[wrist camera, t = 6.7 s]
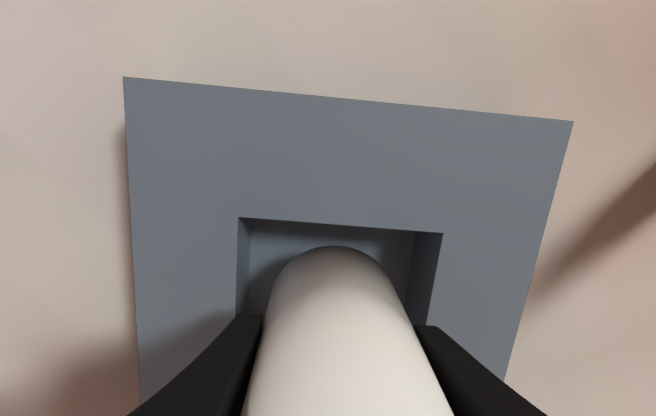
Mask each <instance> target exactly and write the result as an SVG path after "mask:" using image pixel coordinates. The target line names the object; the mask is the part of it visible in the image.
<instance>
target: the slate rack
mask: <svg viewBox="0 0 656 416" xmlns="http://www.w3.org/2000/svg"><path fill="white" fill-rule="evenodd" d="M123 90H124V108H125V126H126V144H127V163H128V181H129V199H130V217H131V235H132V253H133V272H134V290H135V308H136V326H137V344H138V362H139V380H140V399H141V405H142V404H143V403H144V402H146V401H147V400H148V399H149V398H151V397H152V396H153V395H154V394H156V393H157V392H158V391H159V390H160V389H162V388H163V387H164V386H165V385H166V384H167V383H169V382H170V381H171V380H172V379H173V378H174V377H175V376H177V375H178V374H179V373H180V372H181V371H182V370H183V369H184V368H186V367H187V366H188V365H189V364H190V363H191V362H192V361H193V360H194V359H195V358H196V357H197V356H198V355H199V354H200V353H201V352H202V351H203V350H204V349H205V348H206V347H207V346H208V345H209V344H210V343H211V342H212V341H213V340H214V339H215V338H216V337H217V336H218V335H219V334H220V333H221V332H222V331H223V330H224V329H225V328H226V326H227V325H228V324H229V323H230V322H231V321H232V320H233V319H234V317H235V316H237V315H238V314H239V313H247V314H263V323H262V328H263V324H264V320H265V316H266V312H267V308H268V304H269V300H270V296H271V292H272V288H273V285H274V283H275V280H276V278H277V277H278V275H279V273H280V272H281V271H282V269H283V268H284V267H285V266H286V265H287V264H288V263H289V262H290V261H291V260H293V259H294V258H295V257H297V256H298V255H300V254H302V253H304V252H306V251H308V250H311V249H314V248H317V247H322V246H335V245H337V246H346V247H350V248H354V249H357V250H359V251H362V252H364V253H365V254H367V255H369V256H370V257H372V258H373V259H375V260H376V261H377V262H378V263H379V264H380V265H381V266H382V267H383V269H384V270H385V271H386V273H387V275H388V276H389V278H390V280H391V282H392V284H393V287H394V289H395V291H396V293H397V295H398V297H399V299H400V301H401V304H402V306H403V308H404V310H405V312H406V314H407V316H408V319H409V321H410V323H411V325H412V327H413V328H414V324H416V325H431V326H437V327H439V328H440V329H441V330H442V331H444V332H445V333H446V334H447V335H449V336H450V337H451V338H452V339H453V340H454V341H456V342H457V343H458V344H459V345H460V346H461V347H462V348H464V349H465V350H466V351H467V352H468V353H469V354H471V355H472V356H473V357H474V358H475V359H476V360H478V361H479V362H480V363H481V364H482V365H483V366H485V367H486V368H487V369H488V370H489V371H491V372H492V373H493V374H494V375H495V376H497V377H498V378H499V379H500V380H501V381H504V378H505V374H506V370H507V367H508V363H509V359H510V355H511V352H512V348H513V344H514V341H515V337H516V333H517V330H518V326H519V322H520V318H521V315H522V311H523V307H524V304H525V300H526V296H527V292H528V289H529V285H530V281H531V278H532V274H533V270H534V267H535V263H536V259H537V255H538V252H539V248H540V244H541V241H542V237H543V233H544V230H545V226H546V222H547V218H548V215H549V211H550V207H551V204H552V200H553V196H554V193H555V189H556V185H557V181H558V178H559V174H560V170H561V167H562V163H563V159H564V155H565V152H566V148H567V144H568V141H569V137H570V133H571V130H572V126H573V122H574V121H566V120H556V119H546V118H536V117H526V116H515V115H505V114H495V113H485V112H475V111H465V110H455V109H445V108H435V107H425V106H415V105H404V104H394V103H384V102H374V101H364V100H354V99H344V98H334V97H324V96H314V95H304V94H293V93H283V92H273V91H263V90H253V89H243V88H233V87H223V86H213V85H203V84H193V83H182V82H172V81H162V80H152V79H142V78H132V77H123Z"/></svg>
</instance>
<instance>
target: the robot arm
mask: <svg viewBox="0 0 656 416" xmlns="http://www.w3.org/2000/svg"><path fill="white" fill-rule="evenodd" d="M262 323H263V314H247V313H239V314H238V315H237V316H235V317H234V319H233V320H232V321H231V322H230V323H229V324H228V325H227V326H226V328H225V329H224V330H223V331H222V332H221V333H220V334H219V335H218V336H217V337H216V338H215V339H214V340H213V341H212V342H211V343H210V344H209V345H208V346H207V347H206V348H205V349H204V350H203V351H202V352H201V353H200V354H199V355H198V356H197V357H196V358H195V359H194V360H193V361H192V362H191V363H190V364H189V365H188V366H187V367H186V368H184V369H183V370H182V371H181V372H180V373H179V374H178V375H177V376H175V377H174V378H173V379H172V380H171V381H170V382H169V383H167V384H166V385H165V386H164V387H163V388H162V389H160V390H159V391H158V392H157V393H156V394H154V395H153V396H152V397H151V398H149V399H148V400H147V401H146V402H144V403H143V404H142V405H140V406H139V407H138V408H136V409H135V410H134V411H132V412H131V413H130V414H128V415H127V416H241V412H242V408H243V404H244V400H245V396H246V392H247V388H248V384H249V380H250V376H251V372H252V368H253V364H254V360H255V356H256V352H257V348H258V344H259V340H260V336H261V332H262ZM413 329H414V331H415V333H416V336H417V338H418V340H419V342H420V344H421V346H422V348H423V351H424V353H425V355H426V357H427V359H428V361H429V363H430V366H431V368H432V370H433V372H434V374H435V376H436V378H437V380H438V383H439V385H440V387H441V389H442V391H443V393H444V395H445V398H446V400H447V402H448V404H449V406H450V408H451V410H452V412H453V415H454V416H547V415H546V414H544V413H543V412H542V411H540V410H539V409H538V408H536V407H535V406H534V405H532V404H531V403H530V402H528V401H527V400H526V399H524V398H523V397H522V396H520V395H519V394H518V393H517V392H515V391H514V390H513V389H511V388H510V387H509V386H508V385H506V384H505V383H504V382H503V381H501V380H500V379H499V378H498V377H497V376H495V375H494V374H493V373H492V372H491V371H489V370H488V369H487V368H486V367H485V366H483V365H482V364H481V363H480V362H479V361H478V360H476V359H475V358H474V357H473V356H472V355H471V354H469V353H468V352H467V351H466V350H465V349H464V348H462V347H461V346H460V345H459V344H458V343H457V342H456V341H454V340H453V339H452V338H451V337H450V336H449V335H447V334H446V333H445V332H444V331H442V330H441V329H440V328H439V327H437V326H431V325H416V324H414V328H413Z"/></svg>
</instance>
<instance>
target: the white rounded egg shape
mask: <svg viewBox="0 0 656 416" xmlns="http://www.w3.org/2000/svg"><path fill="white" fill-rule="evenodd" d="M241 416H454V415H453V412H452V410H451V408H450V406H449V404H448V402H447V400H446V398H445V395H444V393H443V391H442V389H441V387H440V385H439V383H438V380H437V378H436V376H435V374H434V372H433V370H432V368H431V366H430V363H429V361H428V359H427V357H426V355H425V353H424V351H423V348H422V346H421V344H420V342H419V340H418V338H417V336H416V333H415V331H414V329H413V327H412V325H411V323H410V321H409V319H408V316H407V314H406V312H405V310H404V308H403V306H402V304H401V301H400V299H399V297H398V295H397V293H396V291H395V289H394V287H393V284H392V282H391V280H390V278H389V276H388V275H387V273H386V271H385V270H384V269H383V267H382V266H381V265H380V264H379V263H378V262H377V261H376V260H375V259H373V258H372V257H370V256H369V255H367V254H365V253H364V252H362V251H359V250H357V249H354V248H350V247H346V246H337V245H335V246H322V247H317V248H314V249H311V250H308V251H306V252H304V253H302V254H300V255H298V256H297V257H295V258H294V259H293V260H291V261H290V262H289V263H288V264H287V265H286V266H285V267H284V268H283V269H282V271H281V272H280V273H279V275H278V277H277V278H276V280H275V283H274V285H273V288H272V292H271V296H270V300H269V304H268V308H267V312H266V316H265V320H264V324H263V328H262V332H261V336H260V340H259V344H258V348H257V352H256V356H255V360H254V364H253V368H252V372H251V376H250V380H249V384H248V388H247V392H246V396H245V400H244V404H243V408H242V412H241Z"/></svg>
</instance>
